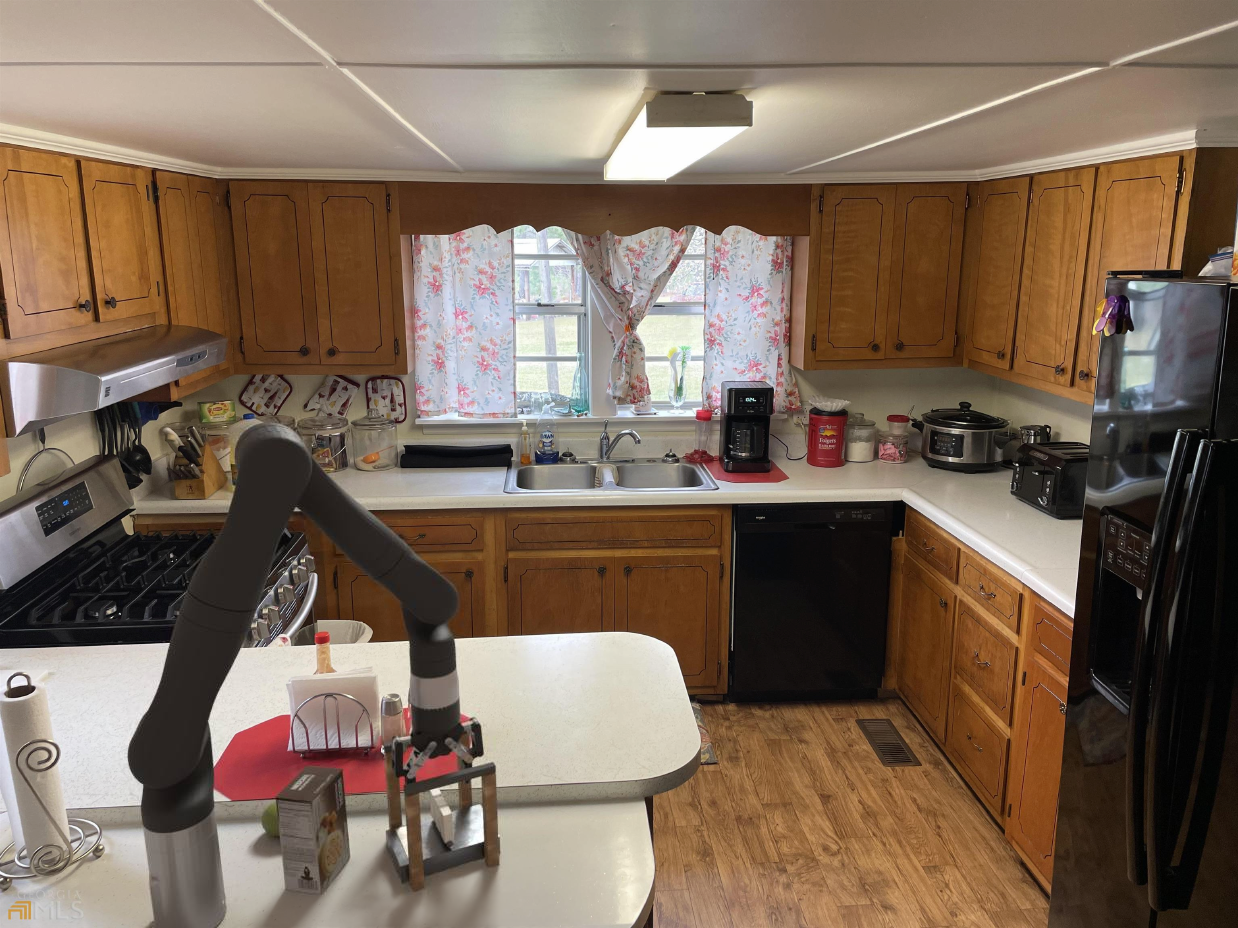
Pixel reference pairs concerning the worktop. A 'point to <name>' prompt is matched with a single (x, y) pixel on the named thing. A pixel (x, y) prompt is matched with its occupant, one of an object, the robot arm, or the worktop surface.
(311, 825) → the coffee box
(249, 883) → the worktop surface
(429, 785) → the grey crossbeam plank
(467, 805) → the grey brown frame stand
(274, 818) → the green eggplant
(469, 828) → the breaker panel
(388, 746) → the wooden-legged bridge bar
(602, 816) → the worktop surface
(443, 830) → the bar
